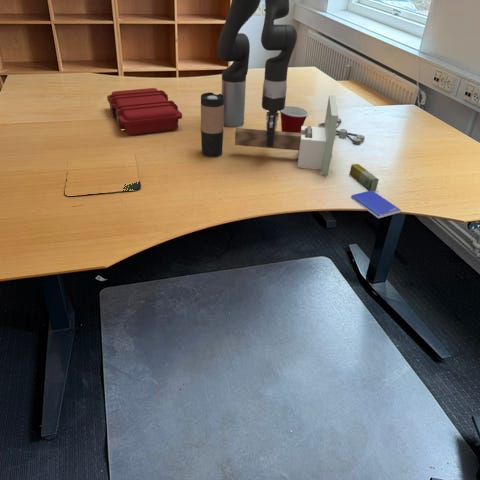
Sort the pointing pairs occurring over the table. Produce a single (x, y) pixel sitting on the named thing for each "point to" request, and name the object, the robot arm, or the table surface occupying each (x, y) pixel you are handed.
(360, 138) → the pulley system
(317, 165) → the grey upright panel
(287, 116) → the plastic cup
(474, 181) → the table surface
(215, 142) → the travel mug
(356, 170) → the medication box
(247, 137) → the post on square base
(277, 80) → the robot arm
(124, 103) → the first aid kit
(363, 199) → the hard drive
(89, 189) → the table surface
